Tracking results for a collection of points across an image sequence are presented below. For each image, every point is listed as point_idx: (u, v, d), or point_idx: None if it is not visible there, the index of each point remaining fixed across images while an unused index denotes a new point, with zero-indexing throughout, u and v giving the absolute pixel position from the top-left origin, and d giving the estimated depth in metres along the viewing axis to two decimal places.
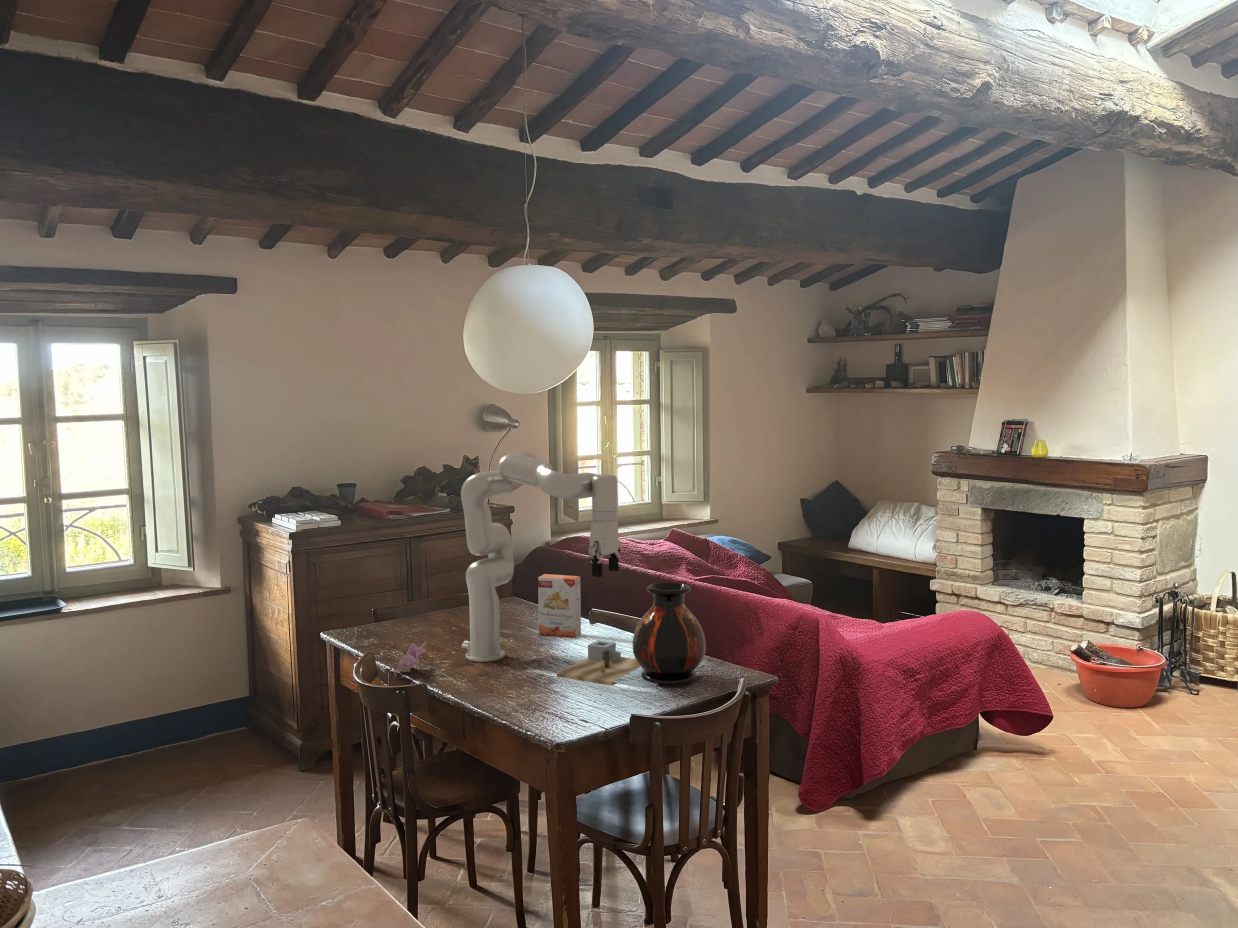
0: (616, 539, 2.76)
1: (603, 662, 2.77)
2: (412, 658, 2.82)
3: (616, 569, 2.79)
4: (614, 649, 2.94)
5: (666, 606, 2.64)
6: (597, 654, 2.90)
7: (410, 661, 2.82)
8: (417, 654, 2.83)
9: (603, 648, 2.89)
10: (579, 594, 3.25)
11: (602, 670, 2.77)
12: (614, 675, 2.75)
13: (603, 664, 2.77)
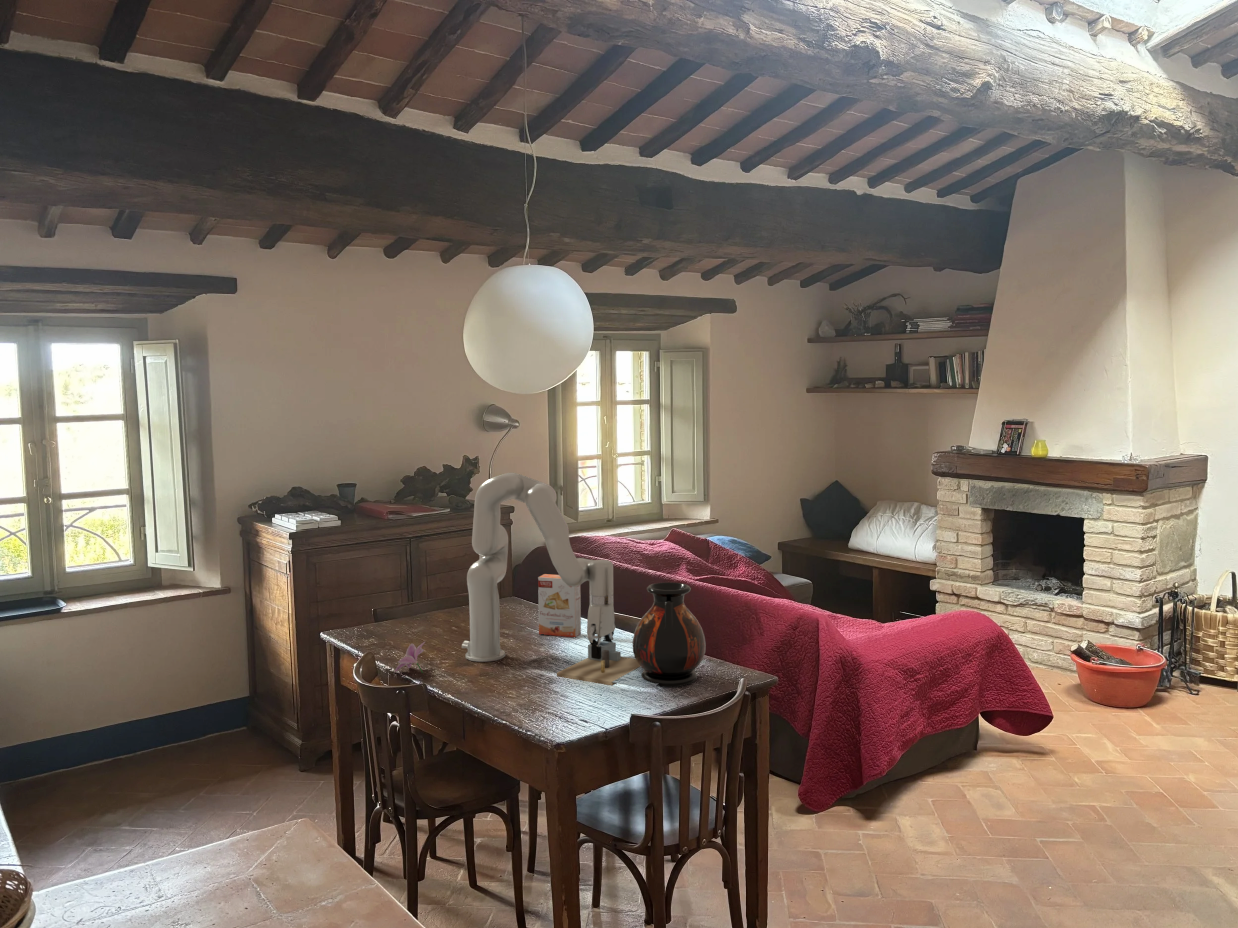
0: (612, 620, 2.94)
1: (603, 662, 2.77)
2: (411, 658, 2.82)
3: None
4: (614, 649, 2.94)
5: (666, 606, 2.64)
6: None
7: (409, 661, 2.82)
8: (416, 654, 2.83)
9: (603, 648, 2.89)
10: (579, 594, 3.25)
11: (602, 670, 2.77)
12: (614, 675, 2.75)
13: (603, 664, 2.77)
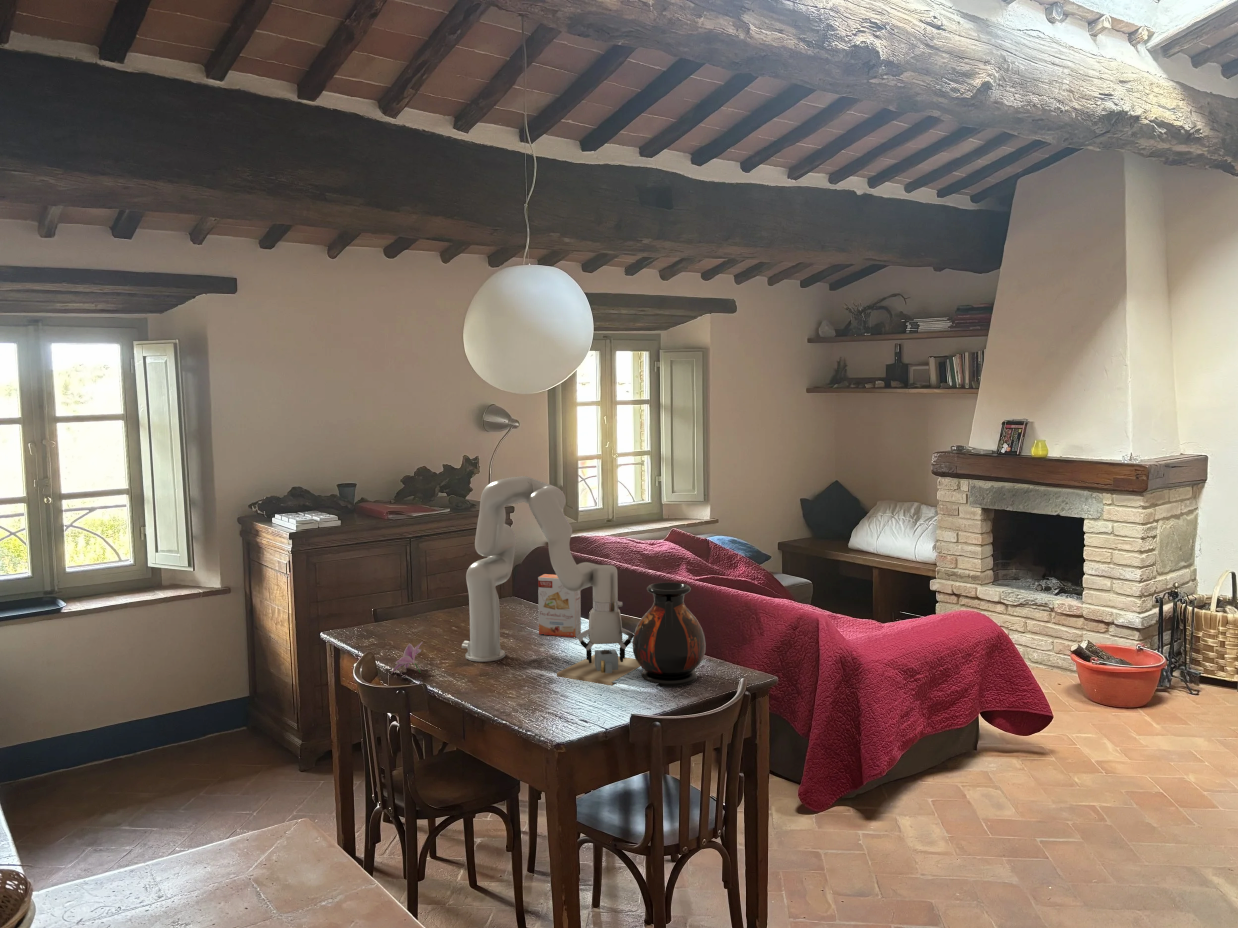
0: (615, 630, 2.81)
1: (603, 662, 2.77)
2: (408, 658, 2.82)
3: (620, 660, 2.83)
4: (615, 661, 2.80)
5: (666, 606, 2.64)
6: None
7: (406, 661, 2.82)
8: (413, 654, 2.83)
9: (596, 656, 2.80)
10: (579, 594, 3.25)
11: (602, 670, 2.77)
12: (614, 675, 2.75)
13: (603, 664, 2.77)
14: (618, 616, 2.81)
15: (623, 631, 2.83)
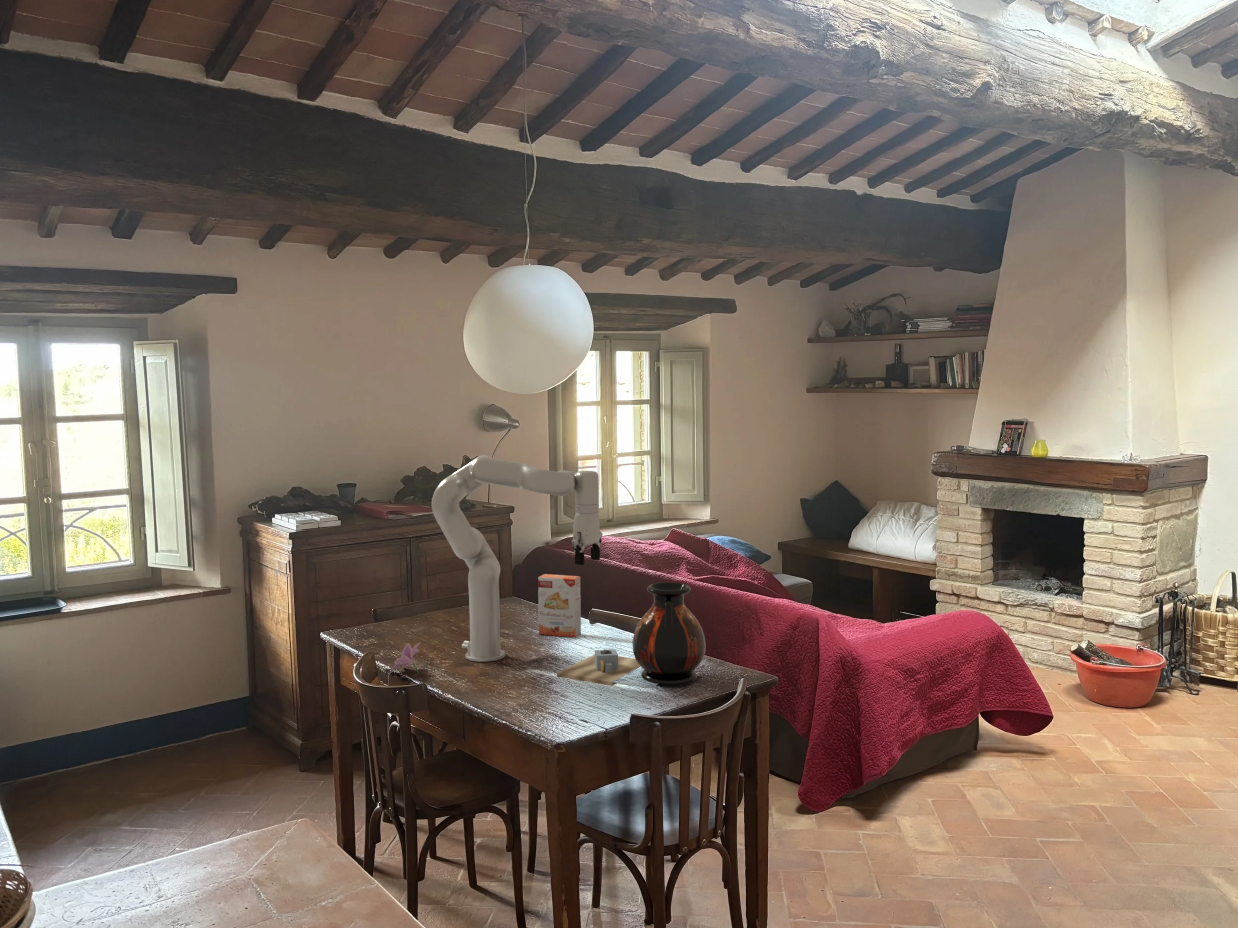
0: (597, 530, 3.00)
1: (603, 662, 2.77)
2: (407, 658, 2.81)
3: (597, 558, 3.03)
4: (615, 661, 2.80)
5: (666, 606, 2.64)
6: None
7: (404, 661, 2.82)
8: (411, 654, 2.83)
9: (596, 656, 2.80)
10: (579, 594, 3.25)
11: (602, 670, 2.77)
12: (614, 675, 2.75)
13: (603, 664, 2.77)
14: (598, 517, 3.01)
15: None
